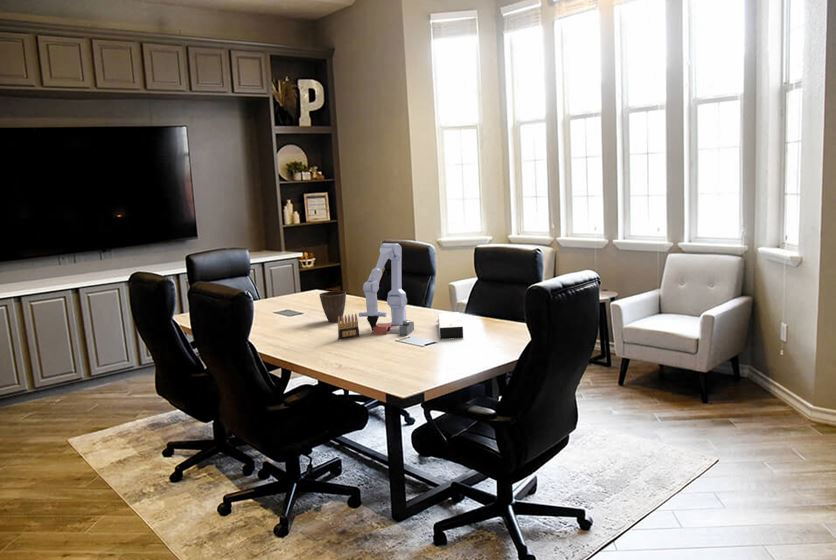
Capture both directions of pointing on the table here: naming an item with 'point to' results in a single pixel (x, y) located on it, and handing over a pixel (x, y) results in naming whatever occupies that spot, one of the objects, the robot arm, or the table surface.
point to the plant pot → (333, 304)
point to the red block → (381, 328)
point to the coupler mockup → (403, 328)
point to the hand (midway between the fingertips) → (373, 330)
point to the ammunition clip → (348, 328)
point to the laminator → (450, 325)
